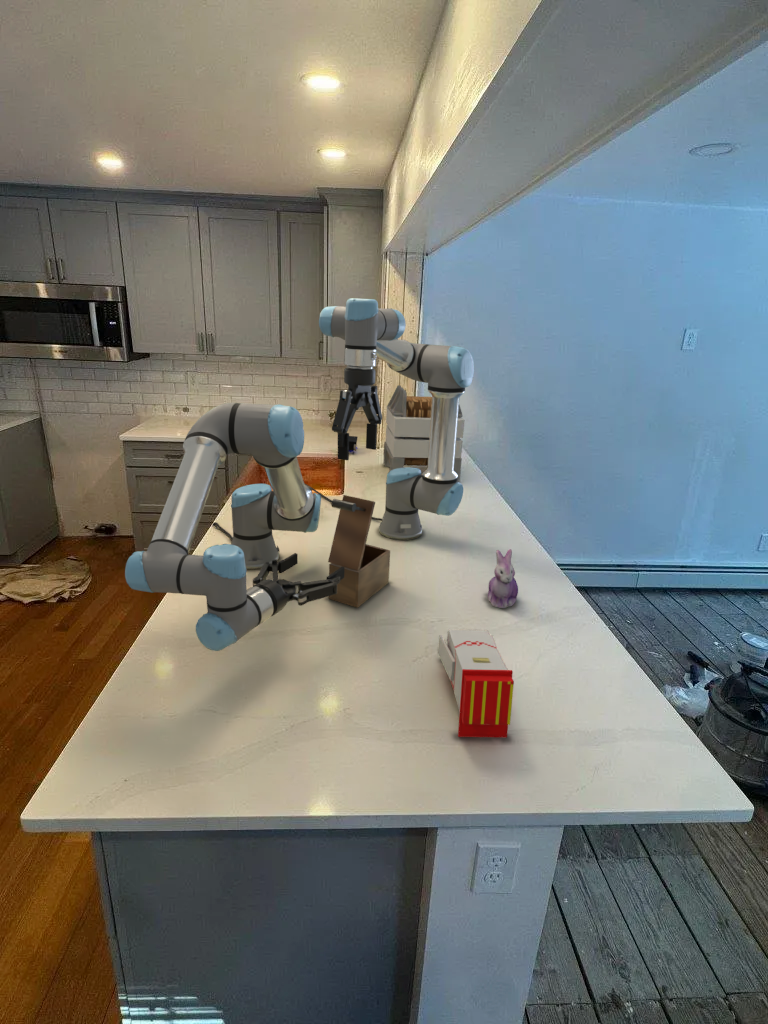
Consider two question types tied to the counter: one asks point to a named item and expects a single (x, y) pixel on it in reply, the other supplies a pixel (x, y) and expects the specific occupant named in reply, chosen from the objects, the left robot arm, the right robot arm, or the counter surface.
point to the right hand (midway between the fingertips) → (357, 454)
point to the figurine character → (352, 443)
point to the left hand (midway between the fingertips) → (319, 565)
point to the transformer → (413, 432)
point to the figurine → (503, 582)
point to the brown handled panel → (351, 531)
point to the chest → (363, 577)
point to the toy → (478, 682)
